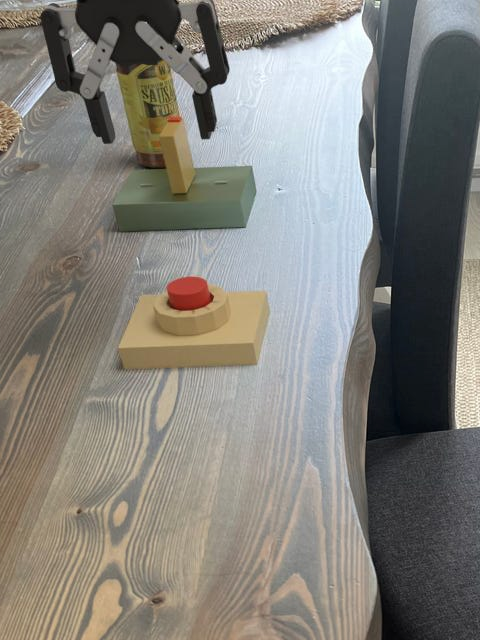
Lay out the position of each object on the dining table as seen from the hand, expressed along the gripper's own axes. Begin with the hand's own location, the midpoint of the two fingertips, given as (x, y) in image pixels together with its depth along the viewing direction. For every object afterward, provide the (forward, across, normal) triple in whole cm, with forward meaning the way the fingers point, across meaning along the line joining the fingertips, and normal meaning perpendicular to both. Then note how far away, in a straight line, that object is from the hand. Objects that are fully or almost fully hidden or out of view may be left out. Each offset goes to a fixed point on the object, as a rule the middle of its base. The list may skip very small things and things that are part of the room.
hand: (158, 138), depth 89 cm
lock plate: (+15, -4, +22) cm, 27 cm away
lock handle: (+12, -4, +22) cm, 25 cm away
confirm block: (+15, +1, -8) cm, 17 cm away
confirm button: (+12, +1, -8) cm, 14 cm away
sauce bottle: (+15, -9, +38) cm, 42 cm away
